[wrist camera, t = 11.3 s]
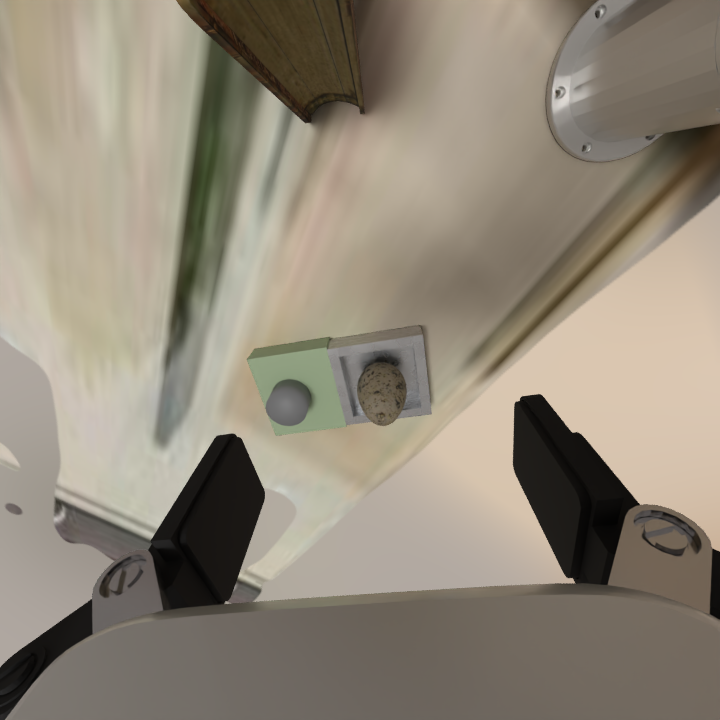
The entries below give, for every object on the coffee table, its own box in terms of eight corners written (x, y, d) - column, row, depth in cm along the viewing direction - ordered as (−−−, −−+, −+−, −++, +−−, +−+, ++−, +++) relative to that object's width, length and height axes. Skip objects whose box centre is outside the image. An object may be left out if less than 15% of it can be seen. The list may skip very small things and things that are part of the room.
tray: (419, 325, 42) (422, 334, 39) (428, 401, 47) (431, 414, 44) (329, 339, 43) (326, 349, 40) (347, 411, 48) (346, 425, 45)
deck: (329, 337, 43) (322, 358, 38) (348, 413, 48) (344, 441, 43) (254, 349, 44) (238, 371, 39) (281, 422, 49) (269, 450, 44)
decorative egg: (353, 386, 45) (348, 436, 37) (364, 348, 43) (362, 391, 34) (396, 396, 46) (401, 447, 37) (409, 358, 43) (419, 404, 34)
